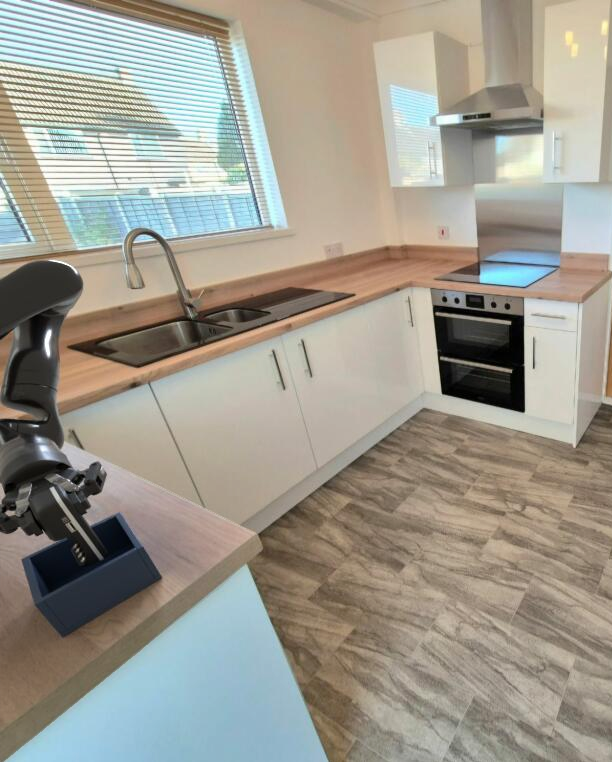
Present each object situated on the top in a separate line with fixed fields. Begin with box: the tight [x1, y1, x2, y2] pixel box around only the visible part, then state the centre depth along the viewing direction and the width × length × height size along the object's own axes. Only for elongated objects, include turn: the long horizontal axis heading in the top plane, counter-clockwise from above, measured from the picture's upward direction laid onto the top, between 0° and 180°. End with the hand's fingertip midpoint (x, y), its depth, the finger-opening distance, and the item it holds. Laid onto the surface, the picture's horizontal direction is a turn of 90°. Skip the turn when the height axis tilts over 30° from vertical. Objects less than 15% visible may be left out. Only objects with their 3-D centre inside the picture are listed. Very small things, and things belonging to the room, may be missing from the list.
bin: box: [21, 511, 163, 638], centre depth 64 cm, size 12×13×7 cm
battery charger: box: [29, 486, 109, 567], centre depth 61 cm, size 7×4×11 cm, turn 54°
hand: (58, 519), depth 58 cm, fingers closed on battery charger, 4 cm apart
